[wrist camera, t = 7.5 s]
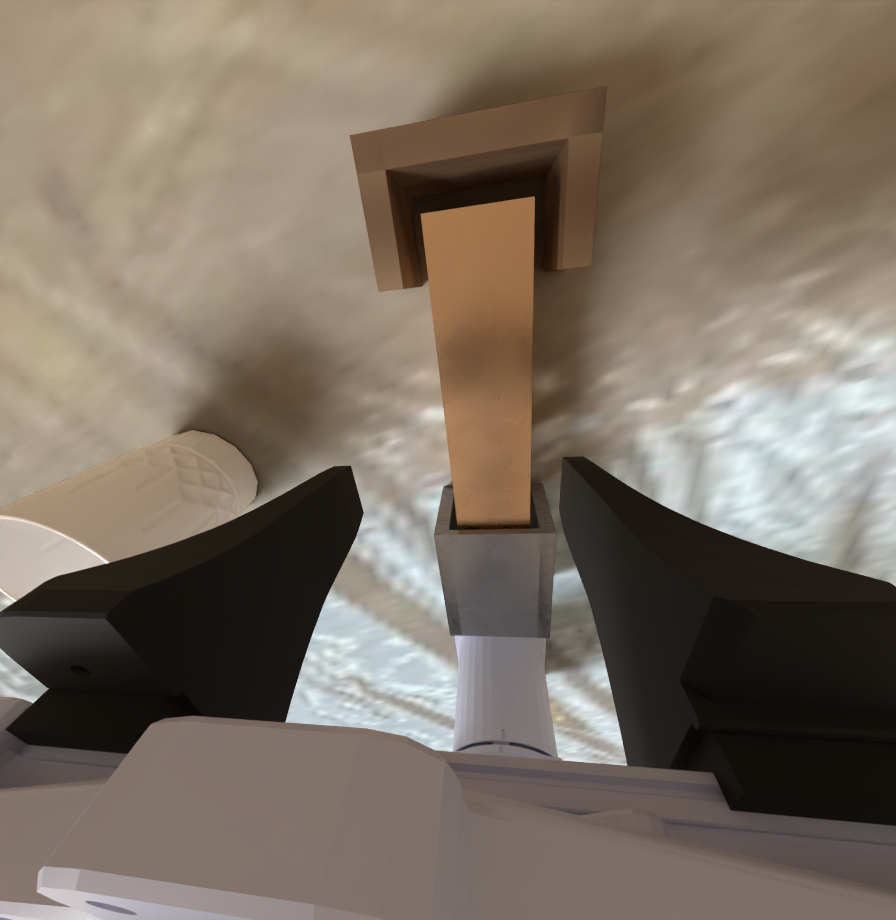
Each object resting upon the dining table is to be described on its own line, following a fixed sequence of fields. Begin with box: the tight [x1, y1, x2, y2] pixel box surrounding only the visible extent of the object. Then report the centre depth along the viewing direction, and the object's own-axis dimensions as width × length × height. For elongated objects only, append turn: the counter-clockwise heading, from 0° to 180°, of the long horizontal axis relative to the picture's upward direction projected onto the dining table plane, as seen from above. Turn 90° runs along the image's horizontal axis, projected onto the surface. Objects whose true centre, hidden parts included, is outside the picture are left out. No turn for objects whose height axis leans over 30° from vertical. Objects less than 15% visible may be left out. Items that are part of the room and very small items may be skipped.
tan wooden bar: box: [421, 196, 535, 530], centre depth 17 cm, size 16×4×4 cm, turn 6°
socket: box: [350, 86, 607, 292], centre depth 13 cm, size 5×8×4 cm, turn 96°
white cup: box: [0, 430, 258, 602], centre depth 19 cm, size 8×8×10 cm
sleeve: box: [434, 484, 556, 638], centre depth 22 cm, size 9×7×5 cm
